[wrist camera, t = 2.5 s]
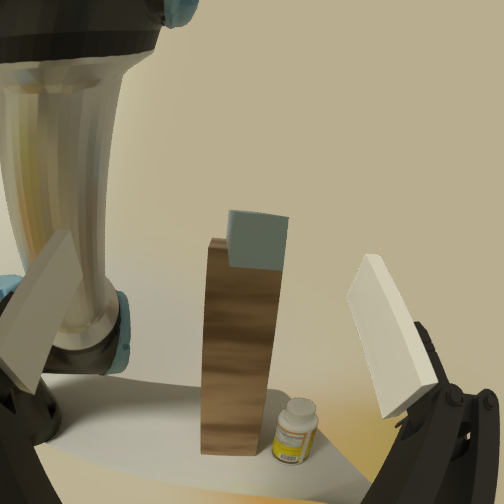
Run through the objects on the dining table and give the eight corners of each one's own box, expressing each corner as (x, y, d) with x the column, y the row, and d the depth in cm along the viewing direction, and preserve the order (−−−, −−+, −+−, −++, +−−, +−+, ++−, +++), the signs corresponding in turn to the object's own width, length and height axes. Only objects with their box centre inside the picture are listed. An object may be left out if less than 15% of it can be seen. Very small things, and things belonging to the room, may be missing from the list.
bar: (282, 270, 22) (288, 217, 22) (229, 266, 22) (234, 211, 21) (253, 239, 44) (256, 212, 43) (226, 236, 43) (228, 209, 43)
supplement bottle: (297, 439, 40) (309, 391, 38) (314, 461, 35) (330, 412, 33) (264, 447, 38) (274, 397, 36) (280, 470, 33) (293, 422, 31)
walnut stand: (255, 455, 36) (284, 253, 31) (200, 454, 35) (208, 247, 30) (249, 416, 45) (270, 242, 41) (203, 413, 44) (212, 237, 40)
